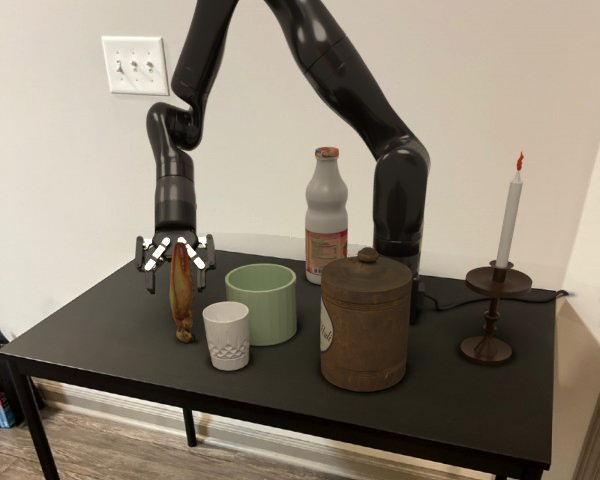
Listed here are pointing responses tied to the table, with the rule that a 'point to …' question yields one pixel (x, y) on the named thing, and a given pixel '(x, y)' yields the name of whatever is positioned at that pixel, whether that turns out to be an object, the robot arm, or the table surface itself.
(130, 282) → the table surface
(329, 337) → the wooden container
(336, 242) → the fruit juice
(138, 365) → the table surface
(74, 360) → the table surface
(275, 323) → the crock
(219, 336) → the white cup
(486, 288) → the candlestick
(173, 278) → the crab claw
